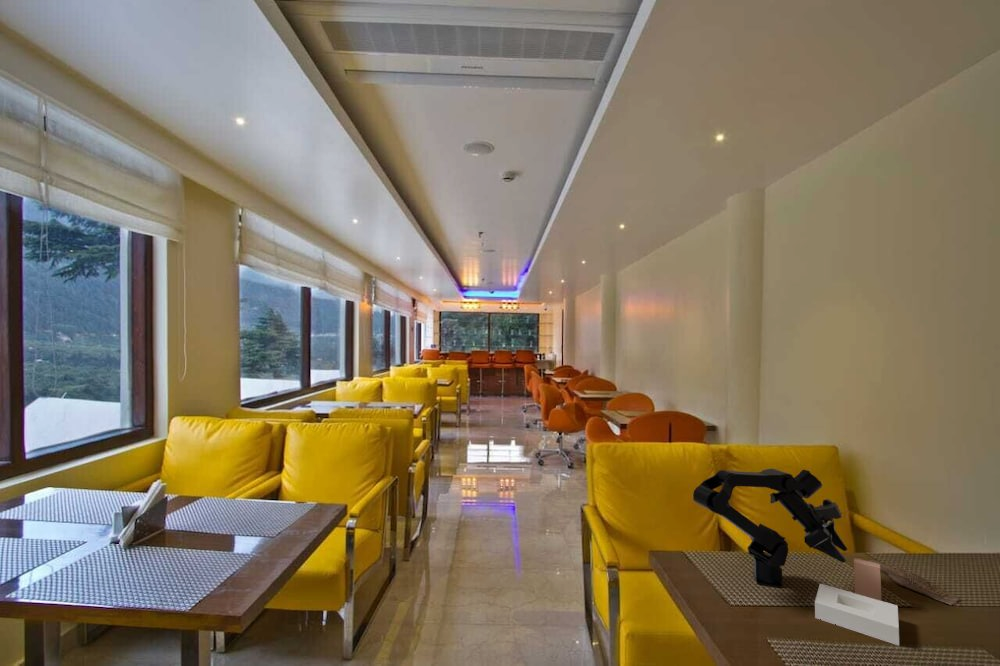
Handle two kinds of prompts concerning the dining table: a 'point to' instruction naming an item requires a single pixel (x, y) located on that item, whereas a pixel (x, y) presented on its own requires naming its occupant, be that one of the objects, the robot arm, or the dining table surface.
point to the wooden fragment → (917, 583)
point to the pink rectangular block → (867, 579)
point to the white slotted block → (858, 613)
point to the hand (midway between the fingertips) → (845, 555)
